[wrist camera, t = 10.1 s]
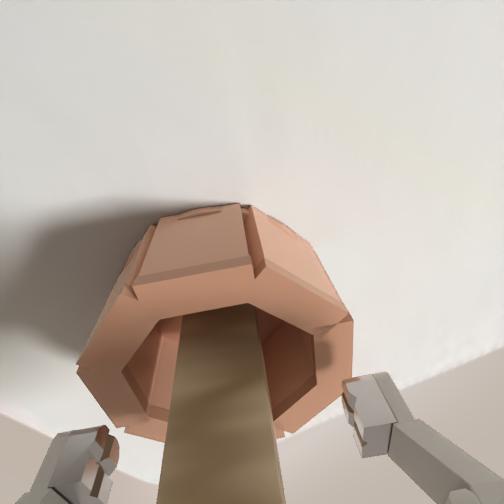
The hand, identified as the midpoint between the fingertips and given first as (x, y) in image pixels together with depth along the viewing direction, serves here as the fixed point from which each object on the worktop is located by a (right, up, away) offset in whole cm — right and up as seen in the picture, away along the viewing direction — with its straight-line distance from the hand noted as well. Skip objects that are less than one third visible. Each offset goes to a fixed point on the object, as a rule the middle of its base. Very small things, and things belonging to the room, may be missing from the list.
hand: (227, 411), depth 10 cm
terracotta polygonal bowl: (-1, +3, +5) cm, 6 cm away
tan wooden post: (-1, +3, +5) cm, 6 cm away
